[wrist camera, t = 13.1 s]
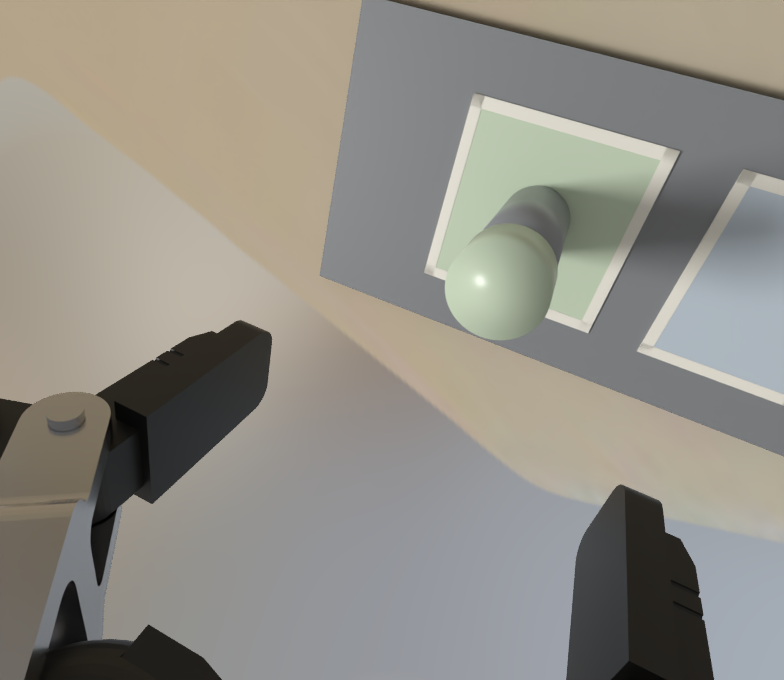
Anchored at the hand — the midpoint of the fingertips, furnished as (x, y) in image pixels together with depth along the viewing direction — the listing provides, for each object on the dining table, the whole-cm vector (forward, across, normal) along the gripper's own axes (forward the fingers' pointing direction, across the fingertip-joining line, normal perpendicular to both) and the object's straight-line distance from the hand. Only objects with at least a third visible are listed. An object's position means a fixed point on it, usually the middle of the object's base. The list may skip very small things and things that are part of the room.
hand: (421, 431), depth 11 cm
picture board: (+20, -7, 0) cm, 22 cm away
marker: (+19, 0, 0) cm, 19 cm away
